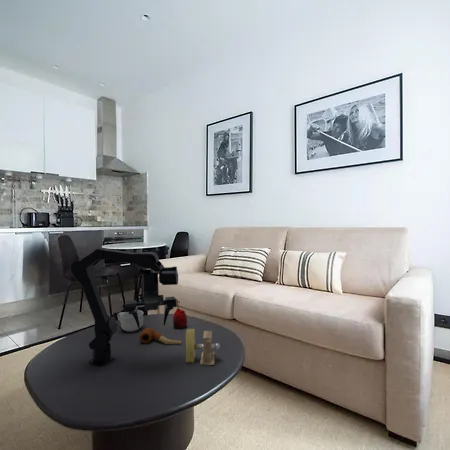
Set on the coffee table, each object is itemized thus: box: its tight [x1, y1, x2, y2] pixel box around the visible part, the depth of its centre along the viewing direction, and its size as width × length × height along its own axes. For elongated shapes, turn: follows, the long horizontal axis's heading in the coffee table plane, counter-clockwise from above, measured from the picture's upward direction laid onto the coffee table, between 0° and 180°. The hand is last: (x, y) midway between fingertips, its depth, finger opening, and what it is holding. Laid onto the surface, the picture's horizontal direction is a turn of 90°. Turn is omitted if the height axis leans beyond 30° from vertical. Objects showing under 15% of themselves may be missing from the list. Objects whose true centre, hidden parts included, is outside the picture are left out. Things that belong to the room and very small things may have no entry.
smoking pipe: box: [139, 327, 182, 345], centre depth 122 cm, size 7×18×6 cm, turn 85°
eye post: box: [199, 330, 216, 366], centre depth 105 cm, size 5×9×10 cm, turn 1°
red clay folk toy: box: [172, 298, 188, 329], centre depth 139 cm, size 8×7×15 cm
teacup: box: [116, 309, 144, 333], centre depth 137 cm, size 14×11×8 cm
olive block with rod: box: [185, 328, 221, 363], centre depth 105 cm, size 13×4×11 cm, turn 91°
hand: (151, 326), depth 105 cm, fingers open, 9 cm apart
